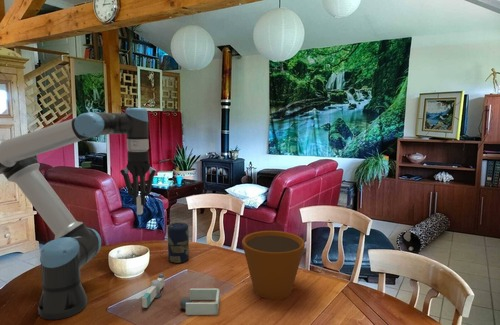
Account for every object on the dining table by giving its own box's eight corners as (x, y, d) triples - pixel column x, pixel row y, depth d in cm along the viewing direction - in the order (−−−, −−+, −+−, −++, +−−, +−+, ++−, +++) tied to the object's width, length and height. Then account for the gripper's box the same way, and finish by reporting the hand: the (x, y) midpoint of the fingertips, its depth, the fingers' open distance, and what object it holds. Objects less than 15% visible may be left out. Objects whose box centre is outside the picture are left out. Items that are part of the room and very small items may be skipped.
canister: (186, 264, 161) (186, 225, 158) (165, 264, 161) (165, 225, 158) (190, 256, 170) (190, 219, 168) (170, 255, 170) (170, 219, 168)
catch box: (185, 314, 120) (185, 303, 120) (190, 298, 131) (189, 288, 130) (217, 314, 120) (217, 303, 120) (219, 298, 131) (219, 288, 130)
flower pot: (228, 290, 137) (229, 240, 135) (268, 271, 155) (269, 226, 152) (277, 314, 121) (278, 258, 119) (315, 289, 139) (317, 240, 136)
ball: (180, 309, 121) (177, 297, 123) (182, 312, 124) (179, 300, 126) (191, 305, 122) (189, 294, 124) (193, 308, 125) (190, 297, 127)
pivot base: (148, 298, 130) (148, 297, 130) (151, 292, 135) (151, 291, 135) (160, 298, 130) (160, 296, 130) (162, 292, 135) (162, 291, 135)
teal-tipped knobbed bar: (140, 307, 123) (140, 294, 122) (158, 284, 140) (158, 273, 139) (148, 307, 122) (148, 295, 122) (166, 284, 139) (165, 273, 139)
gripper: (116, 151, 125) (118, 216, 128) (153, 151, 126) (155, 216, 129) (123, 149, 133) (125, 210, 136) (158, 149, 133) (159, 211, 136)
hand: (140, 213), depth 132 cm, fingers closed
